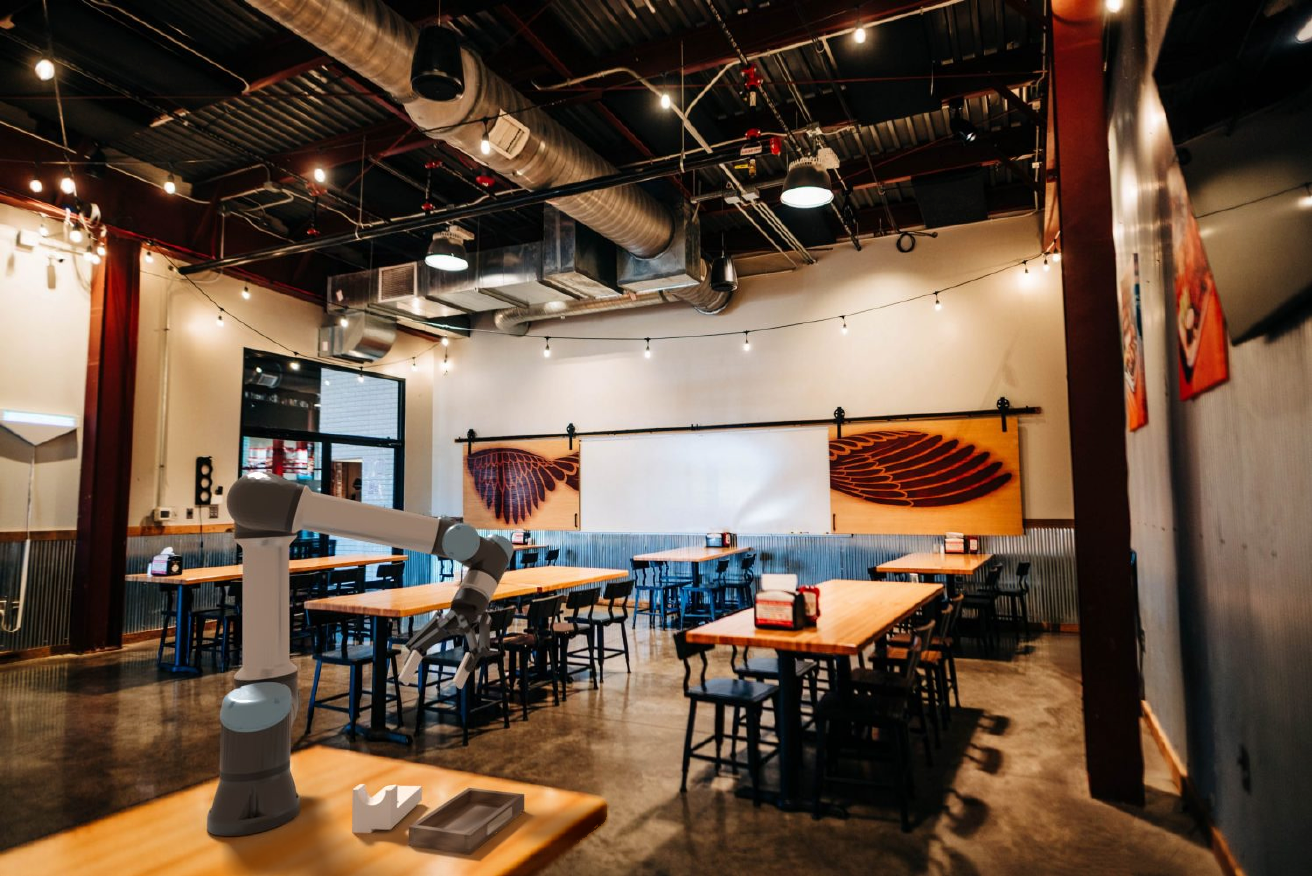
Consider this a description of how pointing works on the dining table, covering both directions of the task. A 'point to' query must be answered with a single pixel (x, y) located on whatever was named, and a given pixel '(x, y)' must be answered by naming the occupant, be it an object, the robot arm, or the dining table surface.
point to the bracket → (382, 807)
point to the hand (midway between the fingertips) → (429, 683)
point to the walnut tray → (466, 820)
